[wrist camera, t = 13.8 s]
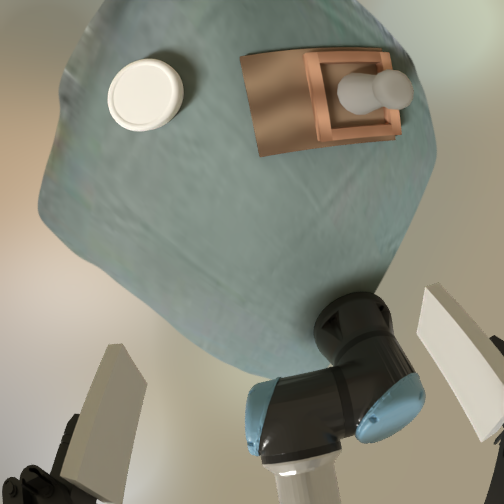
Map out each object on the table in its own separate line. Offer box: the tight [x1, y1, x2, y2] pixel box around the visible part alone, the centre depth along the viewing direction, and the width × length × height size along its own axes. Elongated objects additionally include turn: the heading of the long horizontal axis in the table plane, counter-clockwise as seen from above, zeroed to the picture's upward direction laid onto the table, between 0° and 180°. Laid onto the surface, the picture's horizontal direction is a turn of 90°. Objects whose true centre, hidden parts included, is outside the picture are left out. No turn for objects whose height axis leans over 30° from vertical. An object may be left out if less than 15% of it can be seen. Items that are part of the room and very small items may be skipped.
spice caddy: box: [240, 47, 402, 157], centre depth 34 cm, size 14×20×4 cm
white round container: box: [108, 59, 184, 131], centre depth 32 cm, size 10×10×4 cm
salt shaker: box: [337, 69, 414, 115], centre depth 28 cm, size 6×6×13 cm
